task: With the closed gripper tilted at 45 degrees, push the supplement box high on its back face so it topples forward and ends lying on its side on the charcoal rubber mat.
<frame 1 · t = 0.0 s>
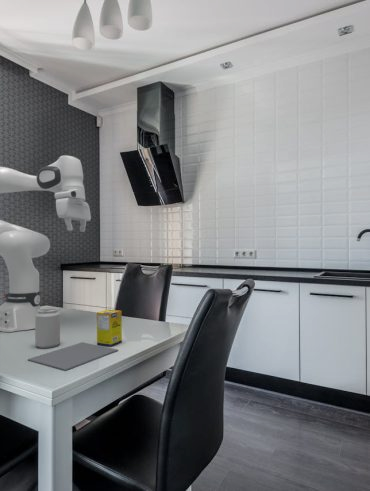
hand: (76, 231, 133), 39 cm above the table, tool pointing down, fingers open, 8 cm apart
rubber mat: (75, 355, 100), on the table
supplement box: (109, 344, 113), on the table
can: (47, 346, 111), on the table
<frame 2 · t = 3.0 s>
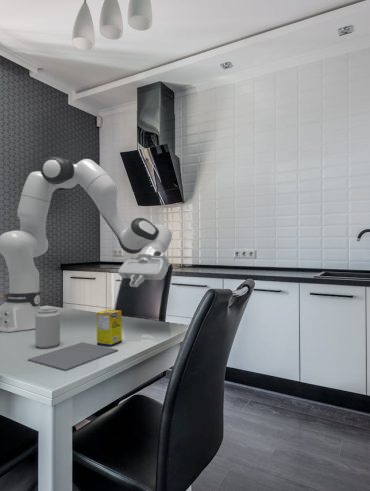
hand: (133, 286, 123), 18 cm above the table, tool tilted 45°, fingers closed
nothing on the table moved.
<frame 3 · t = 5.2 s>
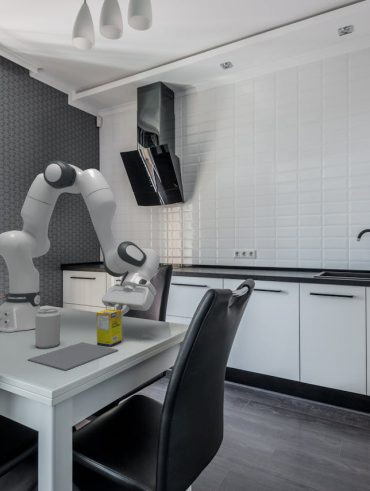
hand: (116, 317, 116), 8 cm above the table, tool tilted 45°, fingers closed
supplement box: (109, 344, 113), on the table, touching gripper
everything else where it was.
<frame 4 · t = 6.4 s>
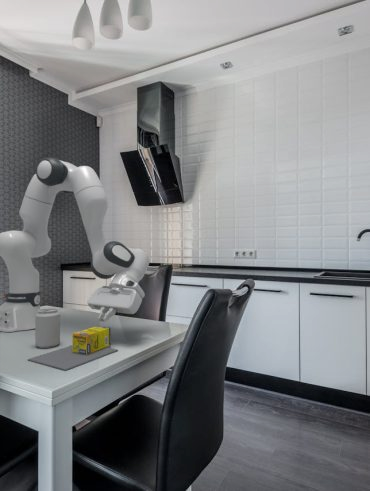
hand: (102, 320, 110), 8 cm above the table, tool tilted 45°, fingers closed
supplement box: (104, 335, 110), point 3 cm above the table, touching rubber mat
everything else where it was.
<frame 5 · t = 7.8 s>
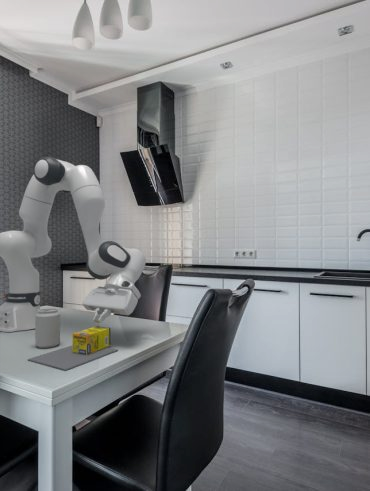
hand: (97, 321, 108), 8 cm above the table, tool tilted 45°, fingers closed
nothing on the table moved.
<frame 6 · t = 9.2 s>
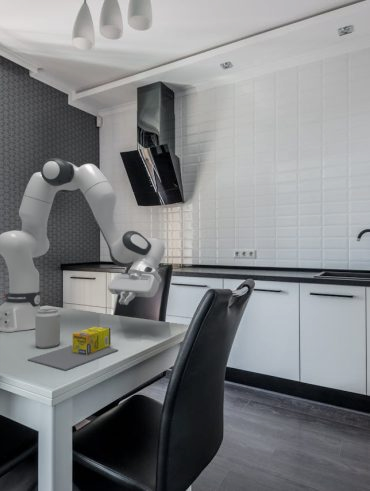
hand: (122, 303, 118), 13 cm above the table, tool tilted 45°, fingers closed
nothing on the table moved.
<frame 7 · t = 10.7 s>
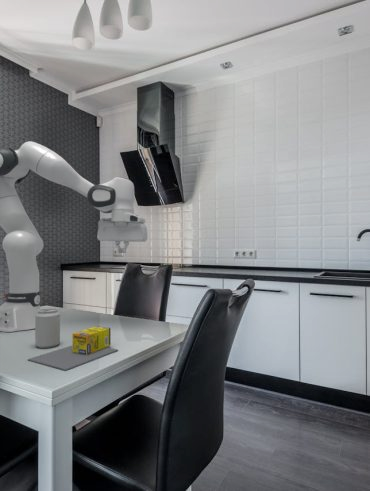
hand: (121, 252, 134), 30 cm above the table, tool pointing down, fingers closed
nothing on the table moved.
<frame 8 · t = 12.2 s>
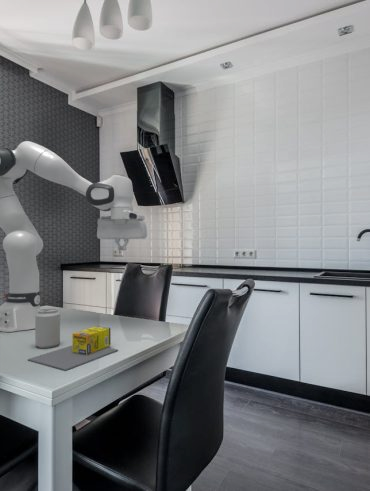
hand: (121, 250, 134), 31 cm above the table, tool pointing down, fingers closed
nothing on the table moved.
at the end: supplement box tilted 90°; supplement box touching rubber mat; supplement box inside the target area (0.9 cm from its centre), point 3.4 cm above the table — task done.
